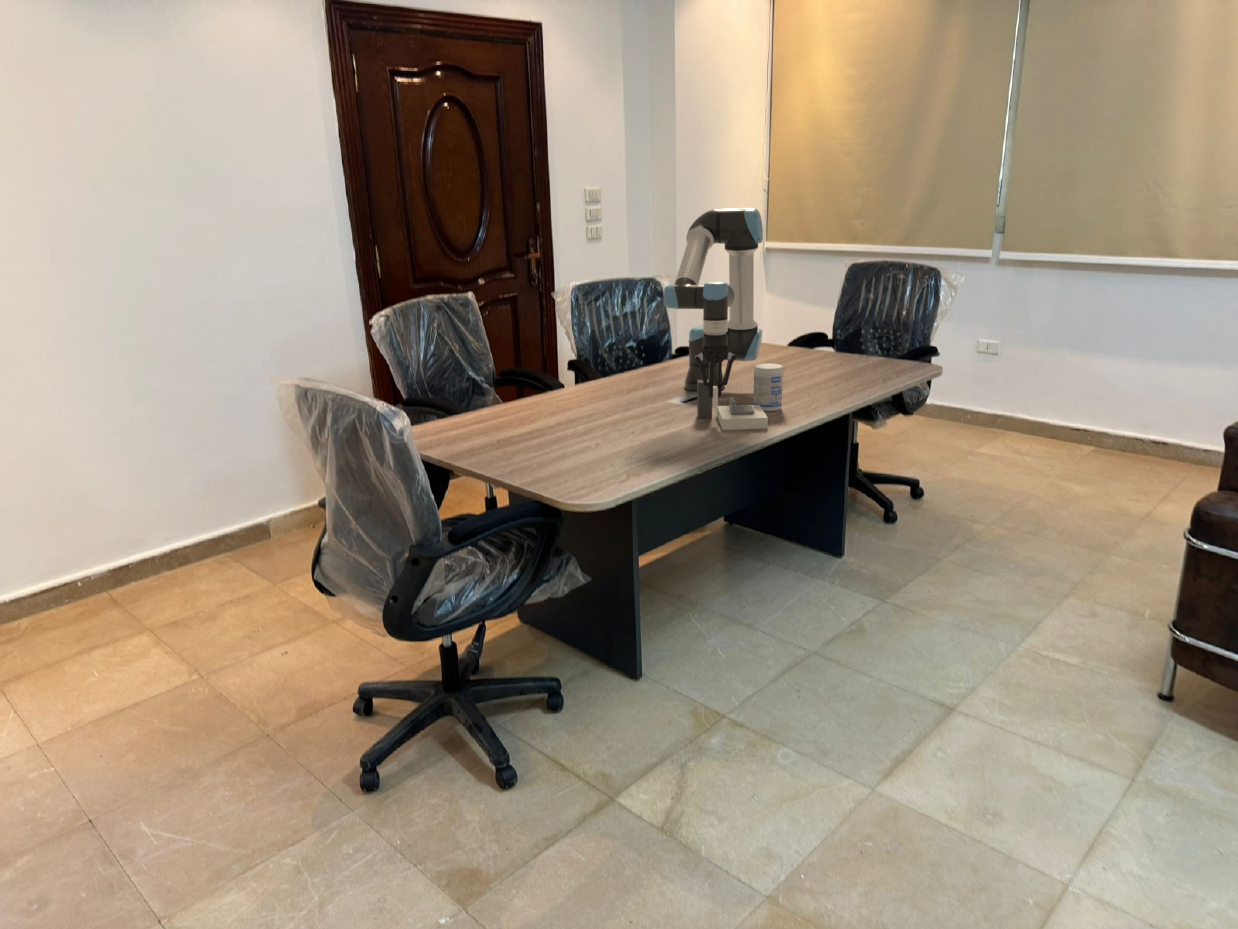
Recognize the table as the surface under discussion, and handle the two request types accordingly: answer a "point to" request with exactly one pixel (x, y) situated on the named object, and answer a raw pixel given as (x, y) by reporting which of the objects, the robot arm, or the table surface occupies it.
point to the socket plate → (742, 419)
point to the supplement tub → (768, 386)
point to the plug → (703, 401)
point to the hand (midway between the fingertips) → (715, 406)
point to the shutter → (739, 408)
